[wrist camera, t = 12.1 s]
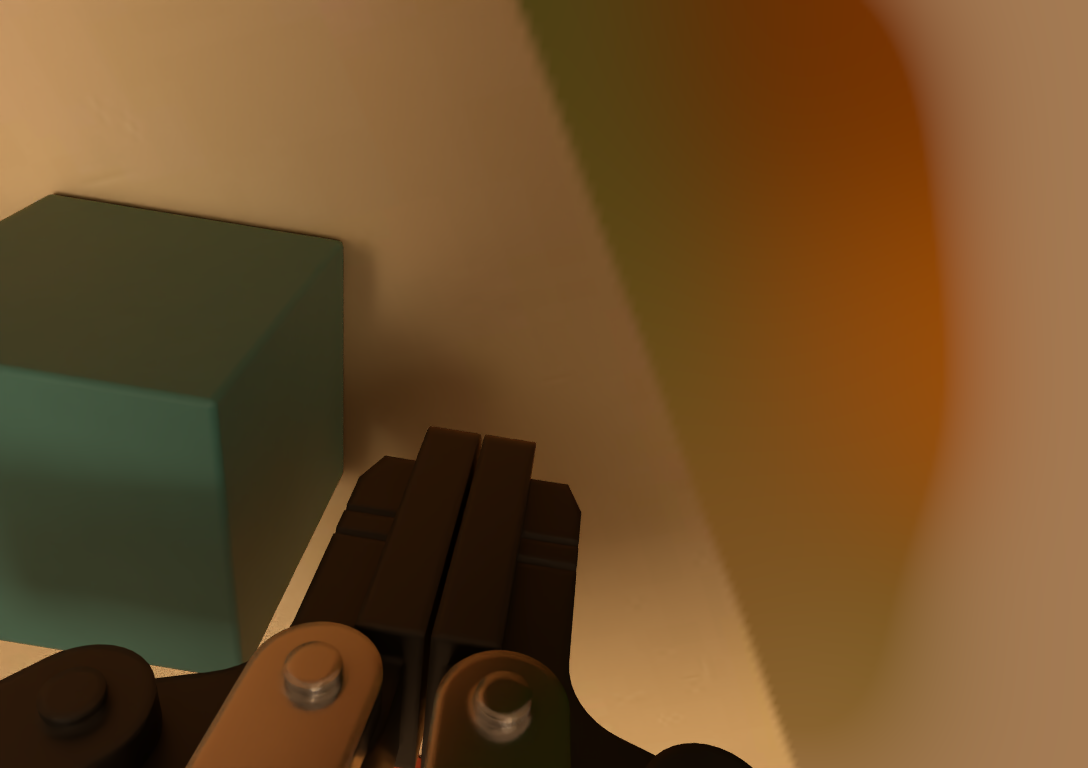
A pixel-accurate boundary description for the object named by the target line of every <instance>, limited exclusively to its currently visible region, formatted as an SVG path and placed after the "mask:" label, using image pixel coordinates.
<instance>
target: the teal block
mask: <svg viewBox="0 0 1088 768" xmlns="http://www.w3.org/2000/svg"><path fill="white" fill-rule="evenodd" d="M342 474H343V245H342V242H340V241H338V240H332V239H326V238H320V237H313V236H307V235H301V234H295V233H289V232H282V231H276V230H270V229H264V228H258V227H251V226H245V225H239V224H233V223H227V222H220V221H214V220H208V219H202V218H196V217H189V216H183V215H177V214H171V213H165V212H159V211H152V210H146V209H140V208H134V207H128V206H121V205H115V204H109V203H103V202H97V201H90V200H84V199H78V198H72V197H66V196H59V195H48V196H46V197H44V198H42V199H41V200H39V201H37V202H35V203H33V204H31V205H29V206H28V207H26V208H24V209H22V210H20V211H18V212H16V213H15V214H13V215H11V216H9V217H7V218H5V219H3V220H2V221H0V640H3V641H9V642H15V643H21V644H27V645H33V646H40V647H46V648H52V649H58V650H68V649H71V648H74V647H80V646H85V645H95V644H106V645H115V646H120V647H124V648H127V649H129V650H132V651H134V652H136V653H137V654H139V655H140V656H142V657H143V658H144V659H145V660H146V661H147V663H148V664H149V665H154V666H160V667H166V668H172V669H178V670H184V671H190V672H196V673H204V672H211V671H217V670H223V669H227V668H230V667H234V666H237V665H240V664H242V663H244V662H247V661H249V659H250V658H251V656H252V655H253V654H254V652H255V651H256V650H257V648H258V646H259V644H260V642H261V640H262V638H263V636H264V634H265V632H266V630H267V628H268V626H269V623H270V621H271V619H272V617H273V615H274V613H275V611H276V609H277V607H278V605H279V603H280V601H281V599H282V597H283V595H284V593H285V591H286V589H287V587H288V585H289V582H290V580H291V578H292V576H293V574H294V572H295V570H296V568H297V566H298V564H299V562H300V560H301V558H302V556H303V554H304V552H305V550H306V548H307V546H308V544H309V541H310V539H311V537H312V535H313V533H314V531H315V529H316V527H317V525H318V523H319V521H320V519H321V517H322V515H323V513H324V511H325V509H326V507H327V505H328V502H329V500H330V498H331V496H332V494H333V492H334V490H335V488H336V486H337V484H338V482H339V480H340V478H341V476H342Z"/></svg>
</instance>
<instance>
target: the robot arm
mask: <svg viewBox="0 0 1088 768" xmlns="http://www.w3.org/2000/svg"><path fill="white" fill-rule="evenodd" d="M481 441H482V435H481V434H478V433H471V432H465V431H459V430H453V429H446V428H440V427H434V426H430V427H429V428H428V430H427V432H426V435H425V437H424V440H423V443H422V445H421V448H420V451H419V453H418V456H417V459H416V461H415V460H408V459H402V458H396V457H390V456H384V457H383V458H382V459H381V460H380V461H378V462H377V463H376V464H375V465H374V466H372V467H371V468H370V469H369V470H367V471H366V472H365V473H364V474H363V475H361V476H360V477H359V479H358V481H357V483H356V486H355V488H354V490H353V492H352V494H351V497H350V499H349V501H348V503H347V507H346V510H344V512H343V514H342V516H341V518H340V521H339V523H338V525H337V527H336V532H335V533H334V534H333V536H332V538H331V540H330V542H329V545H328V547H327V549H326V551H325V553H324V555H323V558H322V560H321V562H320V564H319V566H318V569H317V571H316V573H315V575H314V577H313V579H312V582H311V584H310V586H309V588H308V590H307V593H306V595H305V597H304V599H303V601H302V603H301V606H300V608H299V610H298V612H297V614H296V617H295V619H294V621H293V622H292V624H291V626H290V628H287V629H285V630H282V631H281V632H279V633H277V634H275V635H273V636H272V637H271V638H269V639H268V640H267V641H265V642H264V643H263V644H262V645H261V646H260V647H259V648H258V649H257V650H256V651H255V652H254V654H253V655H252V656H251V658H250V659H249V661H247V662H244V663H242V664H240V665H237V666H234V667H230V668H227V669H223V670H217V671H211V672H204V673H195V674H187V675H179V676H171V677H163V678H155V677H154V673H153V671H152V669H151V667H150V665H149V664H148V663H147V661H146V660H145V659H144V658H143V657H142V656H140V655H139V654H137V653H136V652H134V651H132V650H129V649H127V648H124V647H120V646H115V645H106V644H95V645H85V646H80V647H74V648H71V649H68V650H64V651H61V652H58V653H56V654H54V655H51V656H49V657H47V658H45V659H43V660H41V661H39V662H37V663H35V664H33V665H31V666H29V667H27V668H24V669H22V670H20V671H18V672H16V673H14V674H12V675H10V676H8V677H6V678H4V679H2V680H0V768H394V767H399V768H415V766H416V762H417V758H418V754H419V750H420V746H421V742H422V738H423V743H422V756H421V768H752V767H751V766H750V765H748V764H747V763H746V762H745V761H743V760H742V759H740V758H739V757H737V756H735V755H734V754H732V753H730V752H728V751H726V750H723V749H721V748H718V747H715V746H711V745H707V744H699V743H686V744H680V745H676V746H672V747H670V748H668V749H665V750H663V751H662V752H660V753H659V754H657V755H656V756H655V755H653V754H651V753H649V752H647V751H645V750H643V749H641V748H639V747H637V746H635V745H633V744H631V743H629V742H627V741H625V740H623V739H621V738H619V737H617V736H616V735H614V734H612V733H610V732H609V731H607V730H606V729H605V728H603V727H602V726H601V725H599V724H598V723H597V722H596V721H595V720H594V719H593V718H592V717H591V716H590V715H589V714H588V713H587V712H586V710H585V709H584V708H583V706H582V705H581V704H580V702H579V700H578V698H577V697H576V695H575V692H574V690H573V687H572V684H571V680H570V675H569V658H570V646H571V633H572V621H573V609H574V596H575V584H576V568H577V559H578V544H579V534H580V521H581V511H580V509H579V507H578V505H577V502H576V500H575V498H574V496H573V494H572V492H571V490H570V488H569V486H568V485H566V484H560V483H554V482H547V481H541V480H535V479H531V474H532V468H533V461H534V455H535V448H536V443H535V442H529V441H523V440H517V439H510V438H504V437H498V436H492V435H485V437H484V440H483V443H482V447H481Z"/></svg>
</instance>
